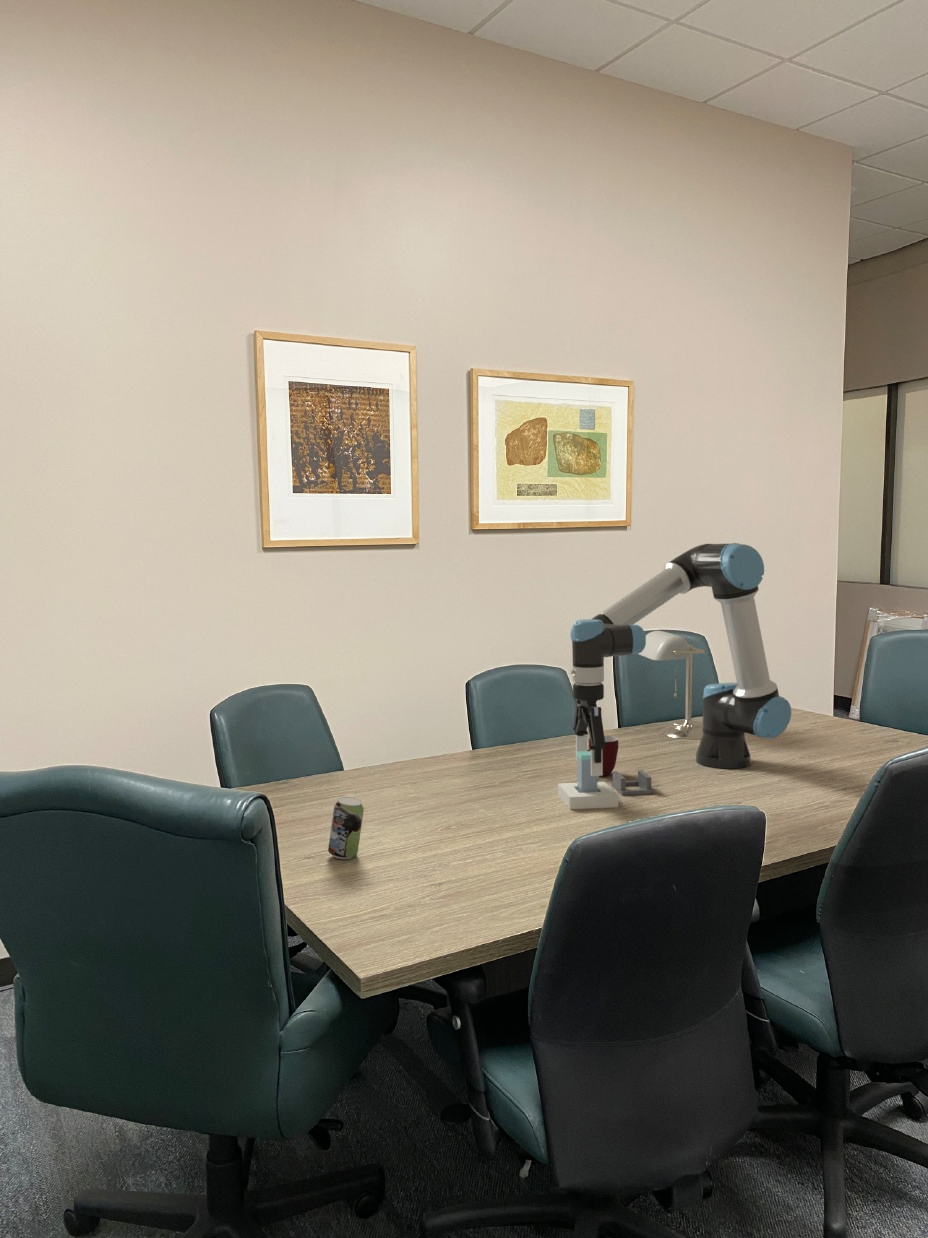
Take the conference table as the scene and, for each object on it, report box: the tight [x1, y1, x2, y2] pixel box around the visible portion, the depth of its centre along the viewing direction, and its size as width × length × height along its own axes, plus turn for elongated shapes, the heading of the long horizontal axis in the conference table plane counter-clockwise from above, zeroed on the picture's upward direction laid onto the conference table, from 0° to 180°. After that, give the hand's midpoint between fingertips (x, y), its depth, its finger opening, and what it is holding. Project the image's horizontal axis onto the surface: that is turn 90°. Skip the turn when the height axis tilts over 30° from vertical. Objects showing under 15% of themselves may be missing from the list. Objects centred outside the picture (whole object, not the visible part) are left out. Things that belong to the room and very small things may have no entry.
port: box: [557, 781, 619, 810], centre depth 216 cm, size 12×12×3 cm
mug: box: [587, 735, 619, 777], centre depth 240 cm, size 10×8×10 cm
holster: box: [610, 769, 654, 796], centre depth 226 cm, size 8×9×4 cm
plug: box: [576, 751, 599, 793], centre depth 216 cm, size 4×4×12 cm
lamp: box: [638, 630, 706, 740], centre depth 290 cm, size 26×24×34 cm
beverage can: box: [327, 796, 365, 860], centre depth 178 cm, size 6×7×12 cm
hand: (588, 768), depth 216 cm, fingers open, 13 cm apart
